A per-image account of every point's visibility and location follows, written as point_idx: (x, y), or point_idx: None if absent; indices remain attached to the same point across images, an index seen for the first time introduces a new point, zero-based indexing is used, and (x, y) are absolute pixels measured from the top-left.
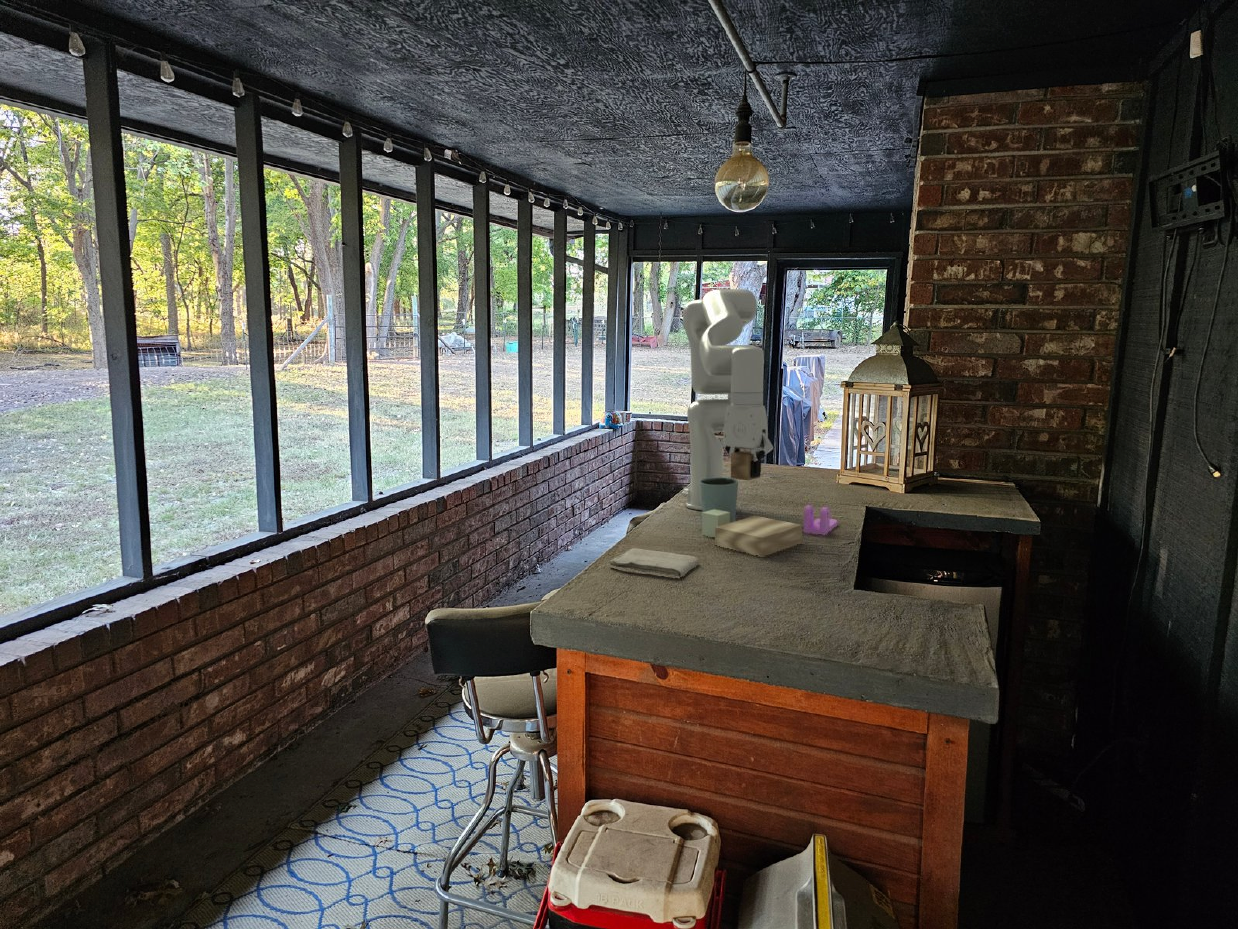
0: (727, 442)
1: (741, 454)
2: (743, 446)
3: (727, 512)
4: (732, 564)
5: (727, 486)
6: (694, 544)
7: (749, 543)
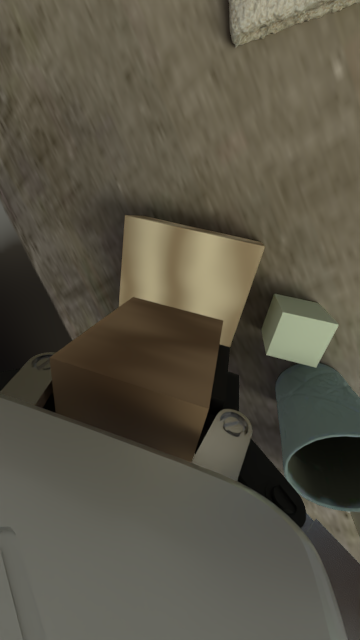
0: (247, 530)
1: (107, 376)
2: (24, 414)
3: (270, 350)
4: (166, 118)
5: (302, 438)
6: (311, 224)
7: (165, 222)
